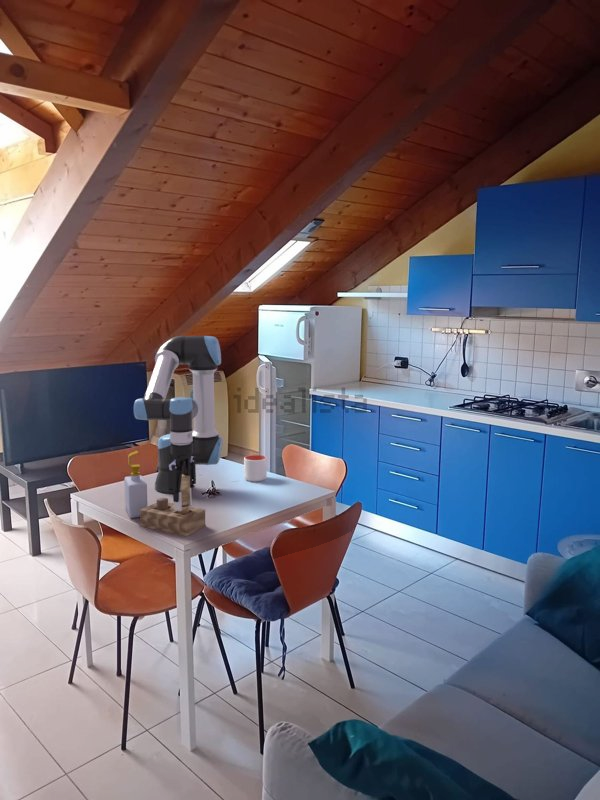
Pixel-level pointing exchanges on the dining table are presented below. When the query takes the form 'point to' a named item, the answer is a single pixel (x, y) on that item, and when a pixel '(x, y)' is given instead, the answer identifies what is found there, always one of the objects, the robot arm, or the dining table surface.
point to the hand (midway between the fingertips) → (183, 507)
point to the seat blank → (171, 518)
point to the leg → (185, 494)
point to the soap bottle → (135, 491)
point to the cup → (255, 468)
